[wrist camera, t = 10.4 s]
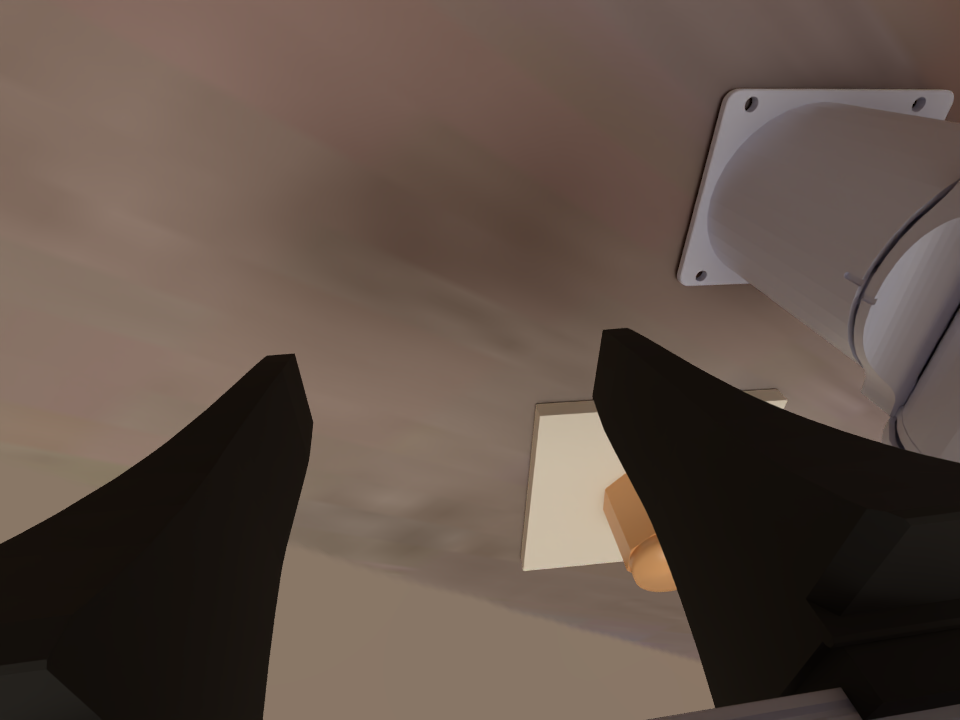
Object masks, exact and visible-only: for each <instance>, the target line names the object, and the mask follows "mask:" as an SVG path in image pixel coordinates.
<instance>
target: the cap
mask: <svg viewBox="0 0 960 720" xmlns="http://www.w3.org/2000/svg"><path fill="white" fill-rule="evenodd" d="M603 510H604V513H605V516H606V518H607V521H608V523H609V526H610V528H611V531H612V533H613V536H614V538H615V541H616V543H617V546H618V548H619V551H620V553H621V556H622V558H623V561H624V563H625V566H626V569H627V571H629V572H632V574H633V577H634V579H635V582H636V583H637V585H638V586H639V587H641V588H643V589H645V590H648V591H653V592H667V591H673V590H677V588H676V585H675V583H674V580H673V577H672V574H671V572H670V569H669V566H668V564H667V561H666V558H665V556H664V553H663V551H662V548H661V546H660V543H659V541H658V538H657V536H656V533H655V530H654V528H653V525H652V523H651V521H650V519H649V517H648V514H647V512H646V510H645V508H644V506H643V504H642V502H641V500H640V498H639V497H638V495H637V493H636V491H635V489H634V487H633V485H632V483H631V481H630V479H629V478H628V476H627V474H626V473H625V474H624V475H623V476H621V477H620V478H619V479H617V480H616V481H615V482H614V483H612V484H611V485H610V486H608V487H607V488H606V489H605V495H604V505H603Z"/></svg>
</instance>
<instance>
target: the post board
mask: <svg viewBox="0 0 960 720" xmlns="http://www.w3.org/2000/svg"><path fill="white" fill-rule="evenodd" d="M743 392H745V393H748V394H750V395H752V396H754V397H756V398H758V399H761V400H763V401H765V402H768V403H770V404H772V405H775V406H777V407H779V408H782V409H784V407H785V405H786V403H787V399H786V398H785V397H784V396H783V395H782V394H781V393H780V392H779V391H778V390H777V389H768V390H752V391H743ZM625 473H626V472H625V470H624V468H623V466H622V464H621V462H620V461H619V459H618V457H617V455H616V453H615V451H614V449H613V447H612V445H611V443H610V441H609V439H608V437H607V435H606V433H605V431H604V429H603V426H602V423H601V421H600V418H599V415H598V412H597V409H596V406H595V403H594V400H592V401H576V402H560V403H544V404H536V410H535V420H534V430H533V440H532V449H531V459H530V469H529V479H528V489H527V499H526V509H525V519H524V529H523V539H522V548H521V563H522V568H523V571H529V570H539V569H549V568H559V567H569V566H580V565H590V564H600V563H610V562H621V561H623V558H622V556H621V553H620V551H619V548H618V546H617V543H616V541H615V538H614V536H613V533H612V531H611V528H610V526H609V523H608V521H607V518H606V516H605V513H604V510H603V505H604V495H605V489H606V488H607V487H608V486H610V485H611V484H612V483H614V482H615V481H616V480H617V479H619V478H620V477H621V476H623V475H624V474H625Z"/></svg>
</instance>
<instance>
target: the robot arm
mask: <svg viewBox="0 0 960 720" xmlns="http://www.w3.org/2000/svg"><path fill="white" fill-rule="evenodd" d="M750 97H752V105H751V106H750V108H749V109H748V110H745V103H746V101H747V100H748V99H749V98H750ZM916 100H917V103H916V105H915V106H914V107H913V108H912V105H913V103H914V102H915V101H916ZM953 100H954V94H953V93H952V91H949V90H943V89H764V88H738V89H733V90H732V91H730V92H729V93H728V94H727V95H726V96H725V97H724V99H723V102H722V104H721V108H720V112H719V116H718V120H717V123H716V127H715V131H714V135H713V139H712V142H711V146H710V150H709V154H708V158H707V162H706V165H705V169H704V173H703V177H702V181H701V184H700V188H699V192H698V196H697V200H696V204H695V207H694V211H693V215H692V219H691V223H690V227H689V230H688V234H687V238H686V242H685V246H684V249H683V253H682V257H681V261H680V265H679V269H678V272H677V279H678V281H679V282H680V283H681V284H683V285H685V286H701V285H726V284H751V285H753V286H754V287H755V288H757V289H758V290H759V291H761V292H762V293H763V294H765V295H766V296H767V297H769V298H770V299H771V300H773V301H774V302H775V303H777V304H778V305H779V306H781V307H782V308H783V309H785V310H786V311H787V312H789V313H790V314H791V315H793V316H794V317H795V318H797V319H798V320H800V321H801V322H802V323H804V324H805V325H806V326H808V327H809V328H810V329H812V330H813V331H814V332H816V333H817V334H818V335H820V336H821V337H822V338H824V339H825V340H826V341H828V342H829V343H830V344H832V345H833V346H834V347H836V348H837V349H838V350H840V351H841V352H842V353H844V354H845V355H846V356H848V357H849V358H850V359H852V360H853V361H854V362H856V363H857V364H858V365H860V366H861V367H863V368H864V371H865V380H864V384H863V386H862V389H861V393H862V394H863V395H864V396H866V397H867V398H868V399H869V400H871V401H872V402H873V403H874V404H876V405H877V406H878V407H879V408H880V409H882V410H883V411H884V412H885V413H887V414H888V415H889V416H890V417H891V418H890V419H889V420H888V422H887V424H886V425H885V427H884V429H883V435H882V443H880V442H876V441H873V440H869V439H866V438H863V437H860V436H857V435H853V434H850V433H847V432H844V431H841V430H838V429H835V428H832V427H830V426H827V425H824V424H821V423H818V422H815V421H812V420H810V419H807V418H804V417H802V416H799V415H796V414H794V413H791V412H789V411H786V410H784V409H782V408H779V407H777V406H775V405H772V404H770V403H768V402H765V401H763V400H761V399H758V398H756V397H754V396H752V395H750V394H748V393H745V392H743V391H741V390H739V389H737V388H735V387H733V386H731V385H729V384H727V383H726V382H724V381H722V380H720V379H718V378H716V377H714V376H712V375H710V374H708V373H707V372H705V371H703V370H701V369H699V368H697V367H696V366H694V365H692V364H690V363H689V362H687V361H685V360H683V359H682V358H680V357H678V356H677V355H675V354H673V353H671V352H670V351H668V350H666V349H665V348H663V347H661V346H660V345H658V344H656V343H654V342H653V341H651V340H649V339H648V338H646V337H644V336H642V335H640V334H639V333H637V332H635V331H633V330H631V329H628V328H621V329H608V330H603V333H602V339H601V346H600V352H599V358H598V365H597V371H596V377H595V384H594V390H593V396H592V397H593V400H594V403H595V406H596V409H597V412H598V415H599V418H600V421H601V423H602V426H603V429H604V431H605V433H606V435H607V437H608V439H609V441H610V443H611V445H612V447H613V449H614V451H615V453H616V455H617V457H618V459H619V461H620V462H621V464H622V466H623V468H624V470H625V472H626V474H627V476H628V478H629V479H630V481H631V483H632V485H633V487H634V489H635V491H636V493H637V495H638V497H639V498H640V500H641V502H642V504H643V506H644V508H645V510H646V512H647V514H648V517H649V519H650V521H651V523H652V525H653V528H654V530H655V533H656V536H657V538H658V541H659V543H660V546H661V548H662V551H663V553H664V556H665V558H666V561H667V564H668V566H669V569H670V572H671V574H672V577H673V580H674V583H675V585H676V588H677V591H678V594H679V596H680V599H681V602H682V605H683V608H684V611H685V614H686V617H687V620H688V623H689V626H690V628H691V631H692V634H693V637H694V640H695V643H696V646H697V649H698V652H699V656H700V659H701V662H702V665H703V669H704V672H705V675H706V679H707V682H708V685H709V689H710V692H711V695H712V698H713V702H714V705H715V708H714V709H708V710H702V711H696V712H690V713H684V714H678V715H672V716H666V717H660V718H654V719H648V720H960V123H958V122H952V121H945V118H946V116H947V114H948V112H949V110H950V108H951V106H952V103H953ZM700 271H703V273H702V274H701V276H699V277H697V278H696V275H697V273H699V272H700ZM312 429H313V420H312V416H311V412H310V409H309V405H308V401H307V398H306V394H305V390H304V387H303V383H302V379H301V375H300V372H299V368H298V364H297V361H296V357H295V354H283V355H270V356H266V357H265V358H263V359H262V360H261V361H260V362H259V363H257V364H256V365H255V366H254V367H253V368H252V369H251V370H250V371H249V372H248V373H246V374H245V375H244V376H243V377H242V378H241V379H240V380H239V381H238V382H237V383H236V384H235V385H233V386H232V387H231V388H230V389H229V390H228V391H227V392H226V393H225V394H223V395H222V396H221V397H220V398H219V399H218V400H217V401H216V402H215V403H213V404H212V405H211V406H210V407H209V408H208V409H207V410H206V411H204V412H203V413H202V414H201V415H199V416H198V417H197V418H196V419H195V420H193V421H192V422H191V423H190V424H188V425H187V426H186V427H185V428H184V429H182V430H181V431H180V432H179V433H177V434H176V435H175V436H174V437H173V438H171V439H170V440H169V441H168V442H166V443H165V444H164V445H162V446H161V447H160V448H158V449H157V450H156V451H154V452H153V453H151V454H150V455H149V456H147V457H146V458H144V459H143V460H142V461H140V462H139V463H137V464H136V465H134V466H133V467H131V468H130V469H128V470H127V471H126V472H124V473H123V474H121V475H120V476H118V477H117V478H115V479H114V480H112V481H110V482H109V483H107V484H105V485H104V486H102V487H100V488H99V489H97V490H96V491H94V492H92V493H91V494H89V495H87V496H86V497H84V498H82V499H81V500H79V501H77V502H76V503H74V504H72V505H71V506H69V507H68V508H66V509H65V510H62V511H61V512H59V513H57V514H56V515H54V516H52V517H50V518H48V519H47V520H45V521H43V522H41V523H39V524H37V525H36V526H34V527H32V528H30V529H28V530H26V531H24V532H23V533H21V534H19V535H17V536H15V537H13V538H11V539H9V540H7V541H5V542H3V543H2V544H0V720H263V711H264V701H265V693H266V682H267V674H268V665H269V657H270V648H271V641H272V633H273V625H274V618H275V610H276V604H277V597H278V591H279V583H280V577H281V570H282V565H283V560H284V556H285V551H286V547H287V543H288V539H289V536H290V532H291V528H292V524H293V520H294V517H295V513H296V509H297V505H298V501H299V498H300V494H301V490H302V486H303V482H304V478H305V474H306V470H307V466H308V462H309V456H310V448H311V439H312Z"/></svg>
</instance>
